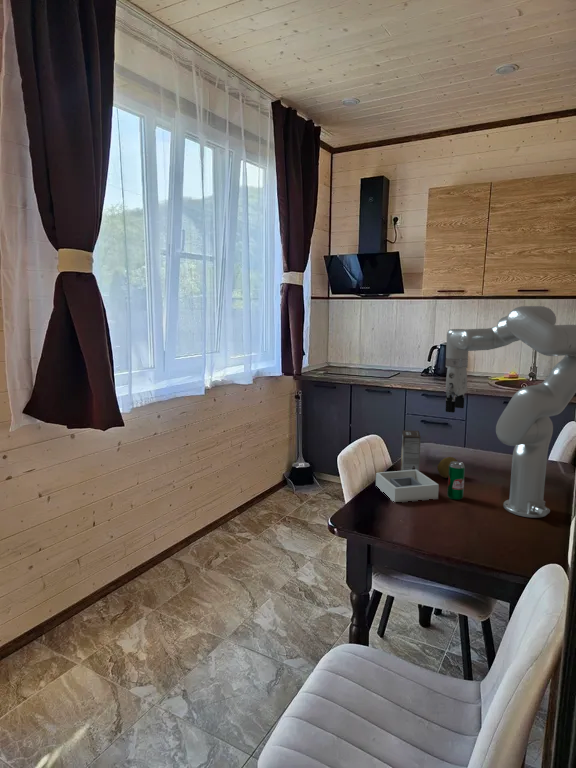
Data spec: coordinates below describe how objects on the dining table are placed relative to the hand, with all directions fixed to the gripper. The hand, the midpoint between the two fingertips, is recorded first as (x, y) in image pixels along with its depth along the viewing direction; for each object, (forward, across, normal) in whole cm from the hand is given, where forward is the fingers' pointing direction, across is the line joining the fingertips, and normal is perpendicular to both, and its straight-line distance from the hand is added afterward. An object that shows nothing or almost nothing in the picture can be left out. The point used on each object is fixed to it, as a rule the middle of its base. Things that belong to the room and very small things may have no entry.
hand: (454, 409), depth 179 cm
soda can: (+26, -18, -7) cm, 33 cm away
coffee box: (+26, -5, +14) cm, 30 cm away
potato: (+26, 0, +2) cm, 26 cm away
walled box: (+26, -24, +8) cm, 36 cm away
